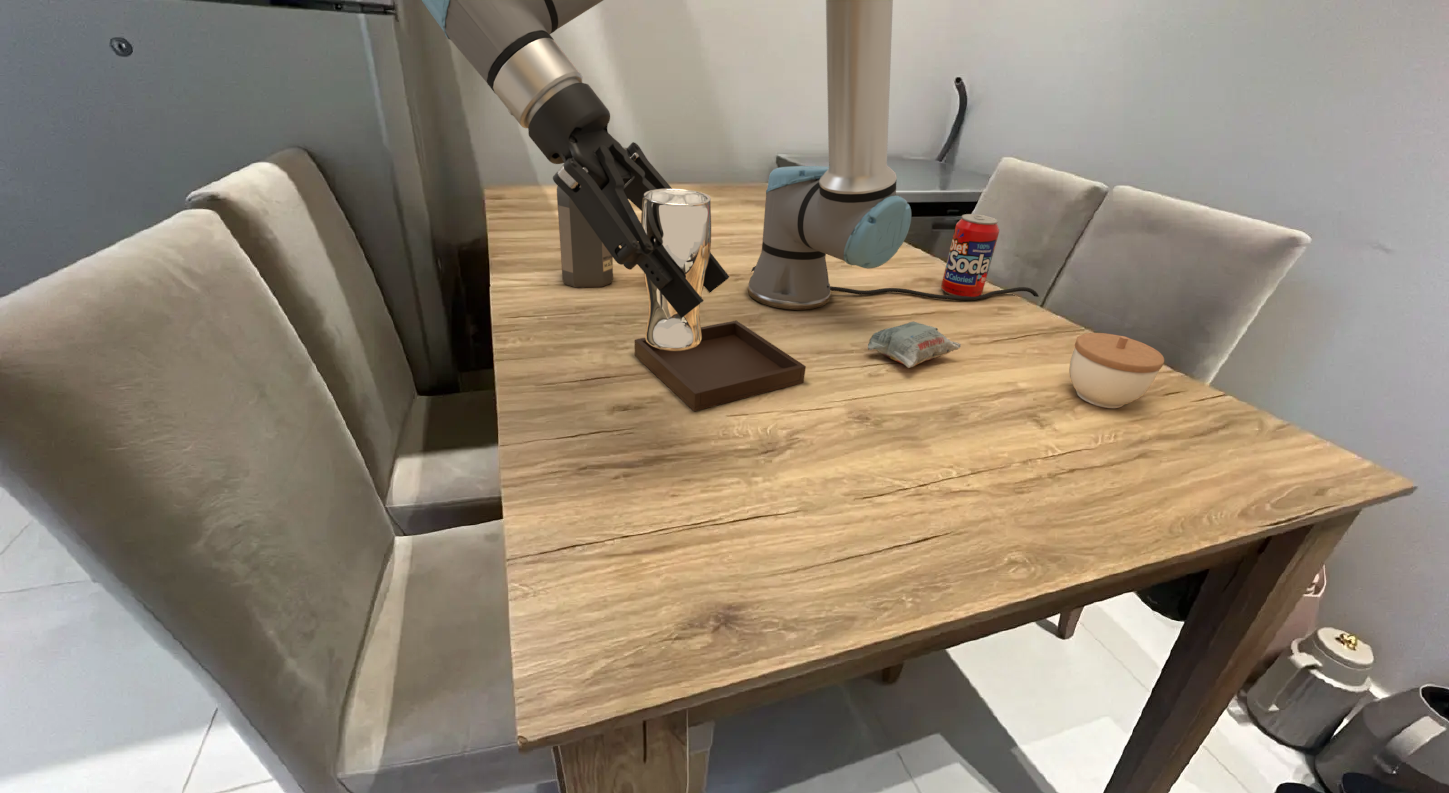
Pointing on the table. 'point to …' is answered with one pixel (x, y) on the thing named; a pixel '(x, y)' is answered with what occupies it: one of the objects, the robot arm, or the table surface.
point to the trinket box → (1112, 369)
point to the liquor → (581, 248)
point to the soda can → (970, 255)
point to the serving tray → (722, 366)
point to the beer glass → (677, 260)
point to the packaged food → (911, 343)
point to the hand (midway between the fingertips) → (706, 296)
